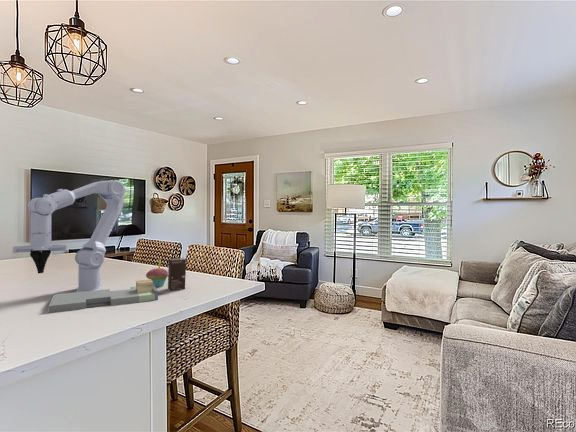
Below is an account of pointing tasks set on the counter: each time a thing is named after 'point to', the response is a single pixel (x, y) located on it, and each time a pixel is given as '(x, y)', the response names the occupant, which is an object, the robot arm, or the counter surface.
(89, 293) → the track
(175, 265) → the box
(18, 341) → the counter surface
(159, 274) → the cupcake
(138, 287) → the block
